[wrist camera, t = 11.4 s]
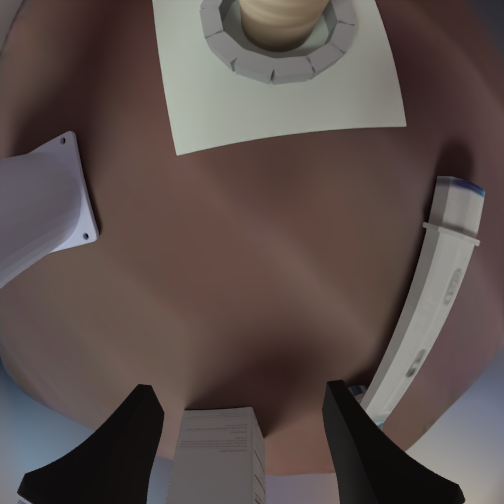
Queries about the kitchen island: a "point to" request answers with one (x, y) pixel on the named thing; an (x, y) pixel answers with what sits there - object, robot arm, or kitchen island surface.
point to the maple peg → (279, 22)
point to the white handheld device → (427, 293)
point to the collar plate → (273, 75)
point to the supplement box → (218, 459)
